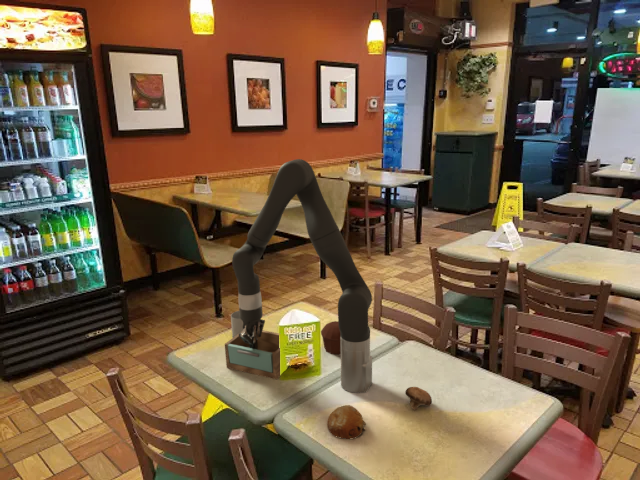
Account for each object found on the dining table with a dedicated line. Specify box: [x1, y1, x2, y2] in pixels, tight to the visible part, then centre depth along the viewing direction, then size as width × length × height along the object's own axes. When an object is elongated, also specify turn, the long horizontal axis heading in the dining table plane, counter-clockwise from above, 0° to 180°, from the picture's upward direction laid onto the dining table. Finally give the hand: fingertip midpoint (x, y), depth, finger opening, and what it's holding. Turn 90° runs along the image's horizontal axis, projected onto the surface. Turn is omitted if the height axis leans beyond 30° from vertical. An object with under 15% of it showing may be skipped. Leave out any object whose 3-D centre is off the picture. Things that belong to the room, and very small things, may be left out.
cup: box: [230, 310, 243, 339], centre depth 184 cm, size 8×8×10 cm
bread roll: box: [326, 404, 367, 440], centre depth 131 cm, size 10×10×8 cm
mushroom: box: [404, 386, 433, 411], centre depth 140 cm, size 8×8×6 cm
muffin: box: [320, 320, 341, 355], centre depth 174 cm, size 12×11×10 cm
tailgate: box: [228, 344, 273, 372], centre depth 158 cm, size 17×2×7 cm, turn 65°
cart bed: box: [224, 329, 281, 380], centre depth 165 cm, size 20×14×9 cm
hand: (254, 351), depth 160 cm, fingers closed
